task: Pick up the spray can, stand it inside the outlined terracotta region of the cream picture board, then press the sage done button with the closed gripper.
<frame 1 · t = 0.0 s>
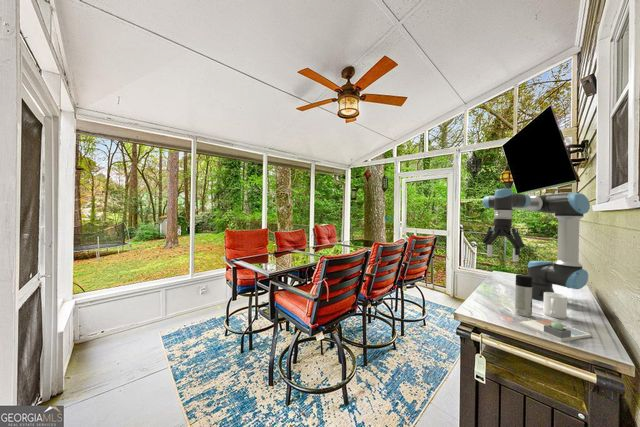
hand: (501, 259, 127), 28 cm above the cabinet, fingers open, 13 cm apart
done button: (557, 327, 102), point 4 cm above the cabinet, slide at 0.0 cm
mug: (554, 316, 124), on the cabinet
spray can: (523, 314, 125), on the cabinet
picture board: (553, 330, 108), on the cabinet
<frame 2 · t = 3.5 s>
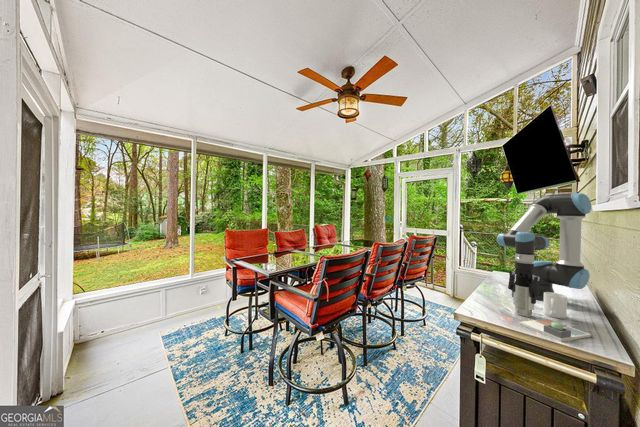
hand: (523, 306, 125), 4 cm above the cabinet, fingers closed on spray can, 7 cm apart
spray can: (523, 314, 125), on the cabinet, touching gripper
everything else where it was.
when the fingers open (6 cm above the cabinet, at t = 9.3 s): spray can stays where it is, resting on picture board.
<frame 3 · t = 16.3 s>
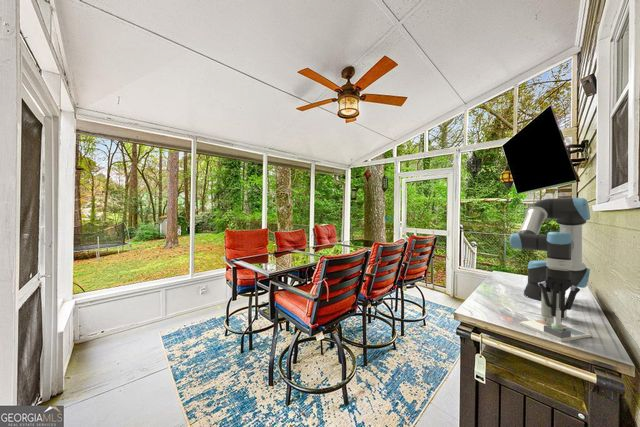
hand: (557, 324, 102), 5 cm above the cabinet, fingers closed
done button: (557, 328, 102), point 3 cm above the cabinet, slide at 0.7 cm, touching gripper
spray can: (550, 323, 112), point 1 cm above the cabinet, touching picture board
everything else where it was.
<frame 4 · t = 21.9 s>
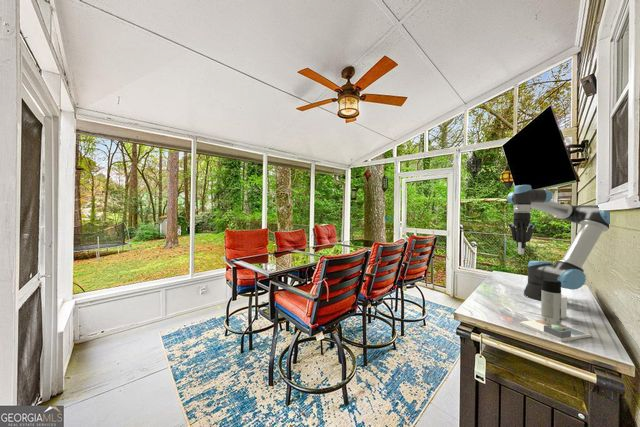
hand: (521, 253, 138), 29 cm above the cabinet, fingers closed
done button: (557, 329, 102), point 3 cm above the cabinet, slide at 1.2 cm
everything else where it was.
at the end: spray can inside the target area on the picture board (0.0 cm from its centre), point 0.9 cm above the picture board's base; spray can tilted 0°; done button slide at 1.2 cm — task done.
